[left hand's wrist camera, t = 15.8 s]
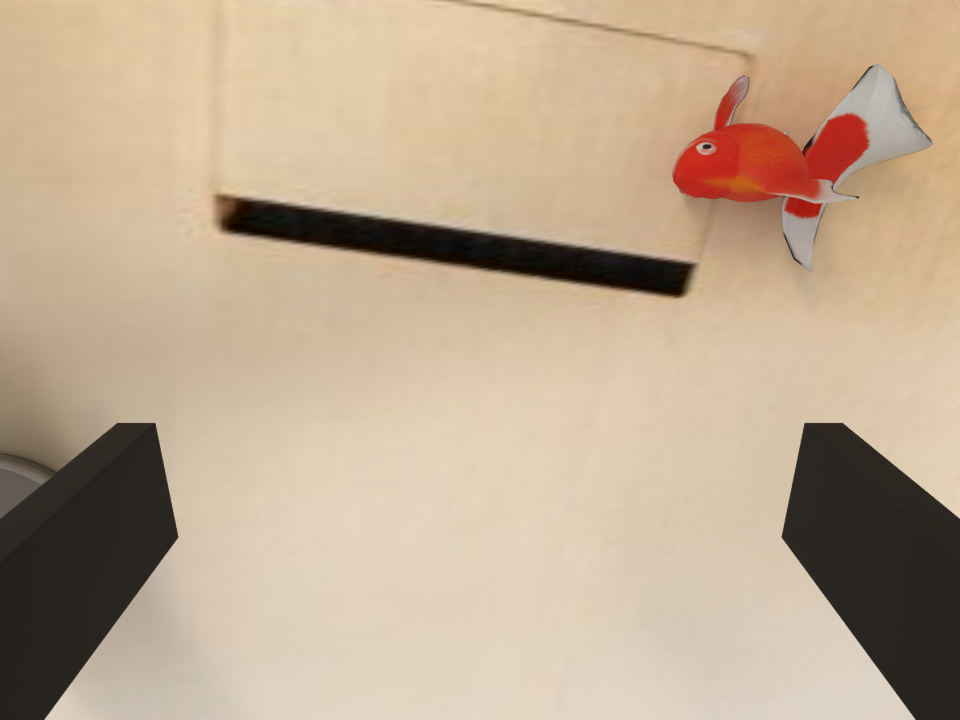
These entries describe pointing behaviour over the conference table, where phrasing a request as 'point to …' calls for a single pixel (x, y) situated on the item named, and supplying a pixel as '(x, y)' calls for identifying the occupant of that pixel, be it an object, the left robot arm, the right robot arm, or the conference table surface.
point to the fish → (799, 155)
